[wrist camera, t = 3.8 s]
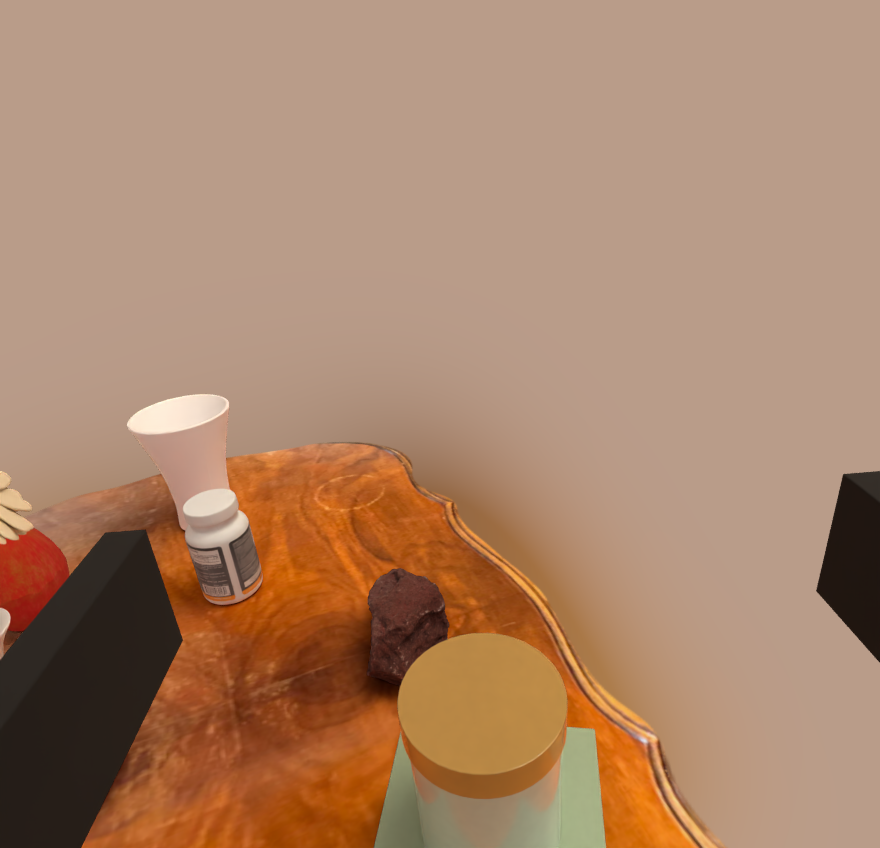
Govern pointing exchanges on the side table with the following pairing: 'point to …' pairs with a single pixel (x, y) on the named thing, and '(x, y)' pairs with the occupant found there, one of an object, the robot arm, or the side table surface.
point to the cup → (186, 444)
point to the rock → (403, 623)
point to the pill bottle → (221, 547)
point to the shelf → (580, 798)
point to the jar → (485, 743)
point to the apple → (29, 576)
